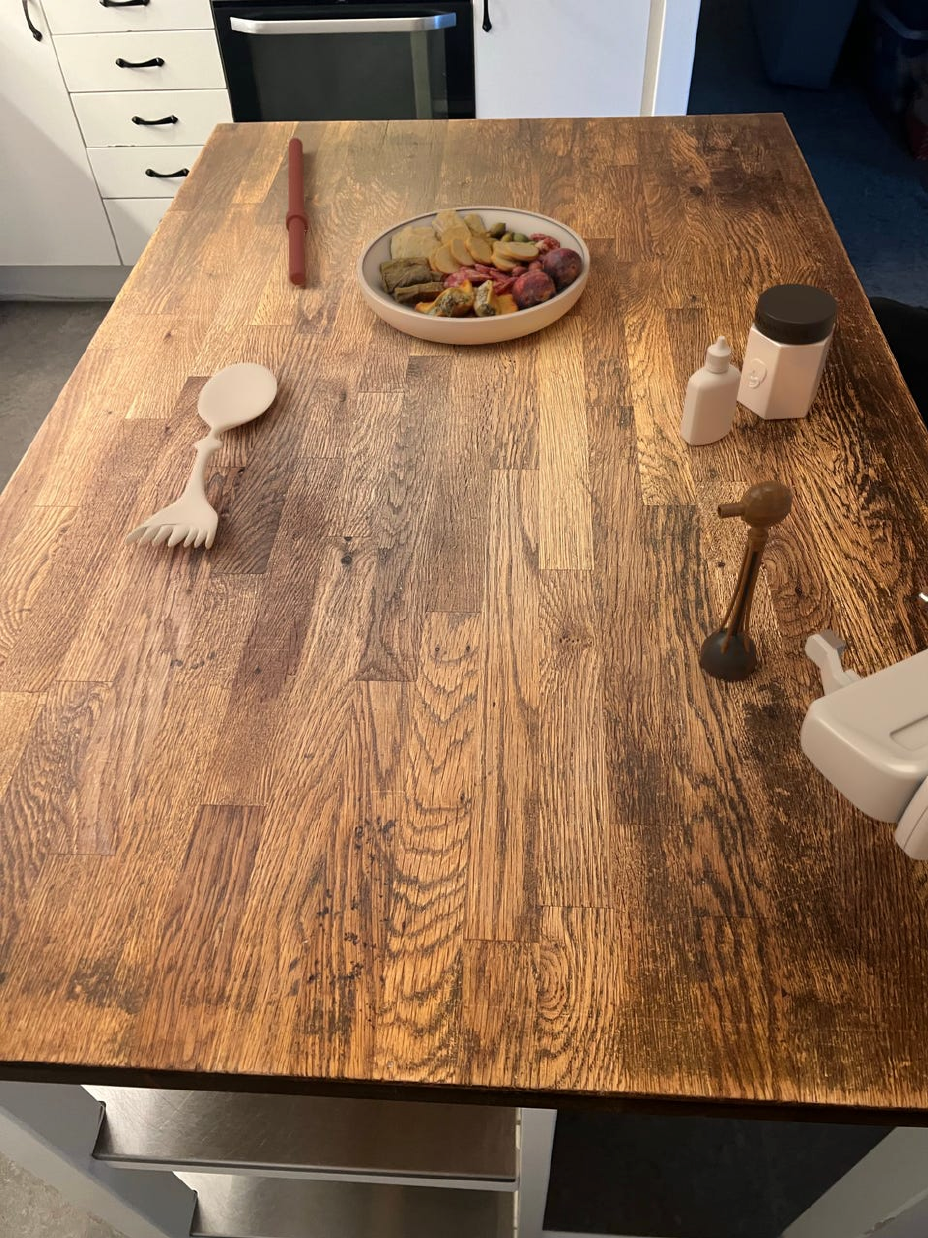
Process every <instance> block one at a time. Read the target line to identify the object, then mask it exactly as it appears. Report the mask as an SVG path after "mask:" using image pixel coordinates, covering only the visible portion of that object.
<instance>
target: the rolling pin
mask: <svg viewBox="0 0 928 1238" xmlns="http://www.w3.org/2000/svg"><path fill="white" fill-rule="evenodd" d="M303 147H304V146H303V142H302V140H301V139H299V138H298V137H293V138H291V139H290V140H289V143H288V211H287V212H286V215H285V227H286V230H287V231H288V279H289V282H290V283H291V285H293V284H294V285H293V286H296V285H301V284H303V285H304V284H305V283H306V281H307V260H306V257H307V255H306V232H305V230H307V231H308V228H309V219H308V214H307V212H306V211H305V186H304V184H305V181H304V148H303ZM301 286H302V285H301Z"/></svg>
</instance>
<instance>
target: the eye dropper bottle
mask: <svg viewBox="0 0 928 1238" xmlns="http://www.w3.org/2000/svg"><path fill="white" fill-rule="evenodd" d="M726 341H727V340H726V336H724V335H719V336H718V337H717V340H716V342H715V343H712V344H711V345H709V346H708V347H707V350H706V355H705V362H704V366H701V367H700V368H699V369H697V370H696V371H695V372H694V373H692V375H691V376H690V377H689V378H688V382H687V386H686V392H685V397H684V404H683V409H682V410H683V411H682V418H681V424H680V431H679V436H680V437H681V439H682V440H684V441H685V442H686V444H687V445H690V446H703V445H705V446H706V445H710V444H713V443H715V442H716V443H717V442H718V441H720V440H722V439H724V438H725V437H727V435H728V434H730V432H731V430H732V427H733V422H734V417H735V411H736V406H737V402H738V401H737V397H738V391H739V386H740V380H741V371H740V370H739V369H738V368H737V367H736V366H734V365H733V364H732V363H730V362H731V359H732V354H733V353H732V351H733V350H732V348H731V347H730V346H729V345H727V343H726Z"/></svg>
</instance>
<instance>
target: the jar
mask: <svg viewBox="0 0 928 1238" xmlns="http://www.w3.org/2000/svg"><path fill="white" fill-rule="evenodd" d="M756 303H757V304H756V305H755V309H754V317H753V322H752V324H751V326H750V328H749V332H748V338H747V342H746V343H747V344H746V348H745V353H744V359H743V362H742V363H743V364H742V369H741V372H740V374H741V380H740V386H739V391H738V397H737V402H738V403H739V404H741V405H742V406H744V407H746V408H747V409H748V410H750V411H751V412H753V414H756V415H757V416H758V417H760V418H761V419H762V420H765V421H766V420H786V419H787V420H789V419H804V418H806V417H807V415H808V412H809V410H810V408H811V407H812V404H814V403H813V402H814V401H815V398H816V396H817V393H818V390H819V387H820V382H821V379H822V375H823V372H824V368H825V364H826V360H827V357H828V353H829V349H830V345H831V341H832V337H833V333H834V331H835V327H836V319H837V315H838V311H839V304H838V302H837V300H836V299H835V297H834V296H833V295H832V294H831V293H829V292H828V291H826V290H824V289H822V288H819V287H816V286H813V285H809V284H804V283H782V284H777V285H773V286H770V287H768V288H767V289H765V290H764V291H763V292H761V294H760V295H759V296H758V298H757V302H756Z"/></svg>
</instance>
